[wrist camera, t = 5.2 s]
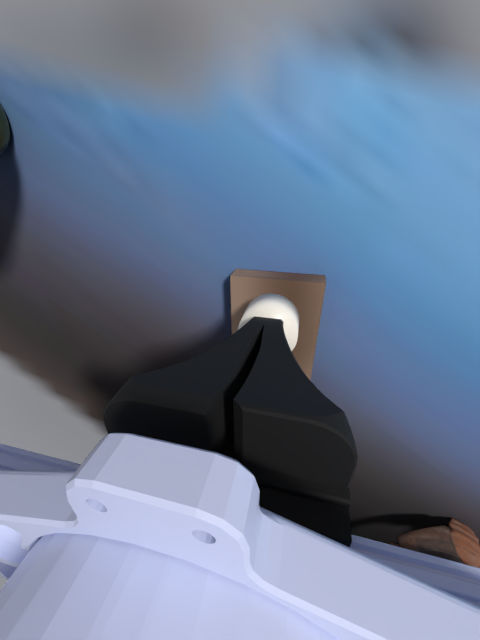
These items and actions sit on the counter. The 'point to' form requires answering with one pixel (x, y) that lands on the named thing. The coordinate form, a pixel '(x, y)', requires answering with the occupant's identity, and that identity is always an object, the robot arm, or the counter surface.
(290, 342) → the cream button
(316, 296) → the button panel
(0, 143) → the cup
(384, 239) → the counter surface
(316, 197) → the counter surface
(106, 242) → the counter surface
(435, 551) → the pottery mug
